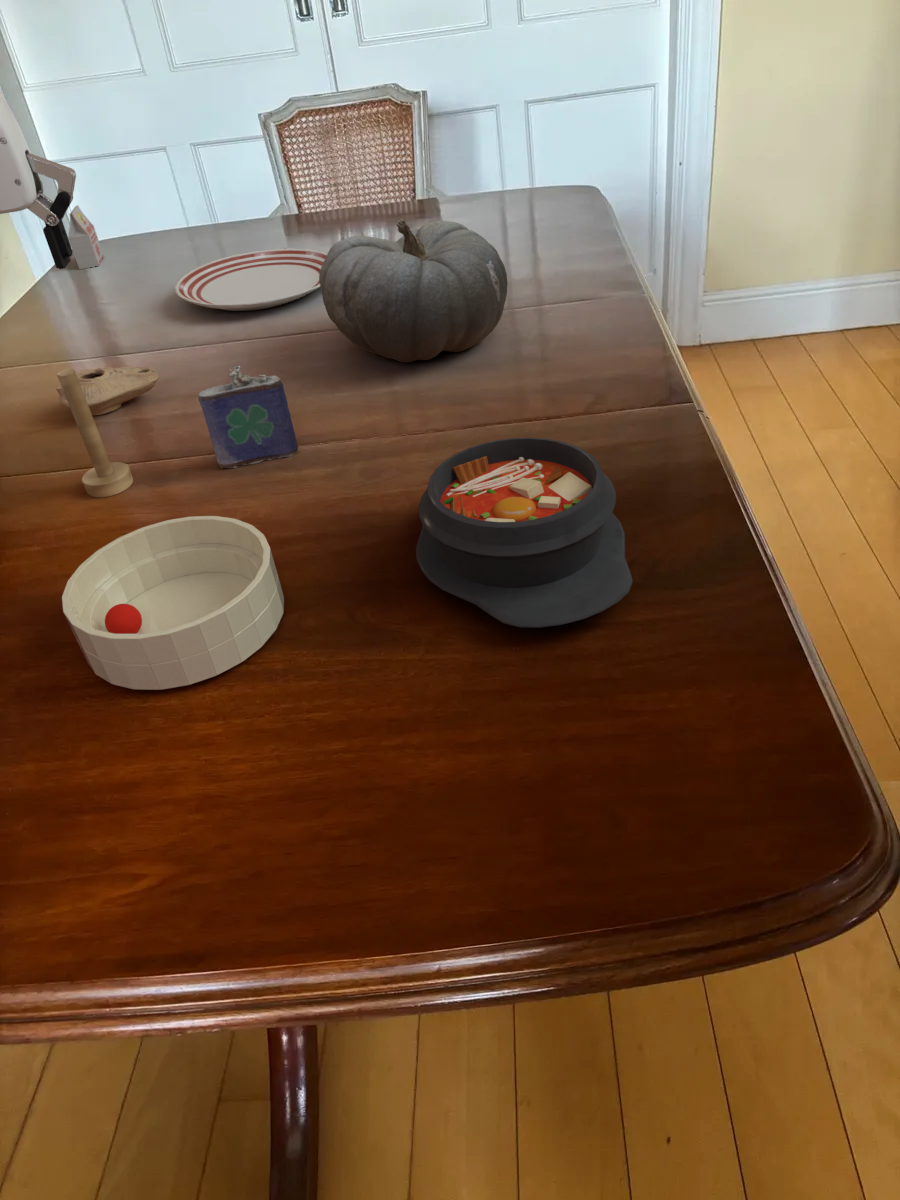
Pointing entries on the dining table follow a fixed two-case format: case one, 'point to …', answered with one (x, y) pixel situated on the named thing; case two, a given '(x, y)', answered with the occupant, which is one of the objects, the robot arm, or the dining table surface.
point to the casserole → (524, 532)
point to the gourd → (415, 290)
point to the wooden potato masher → (93, 444)
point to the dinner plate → (253, 279)
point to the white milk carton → (84, 240)
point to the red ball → (123, 619)
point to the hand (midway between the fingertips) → (15, 271)
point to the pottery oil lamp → (112, 386)
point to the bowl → (176, 601)
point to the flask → (248, 420)
